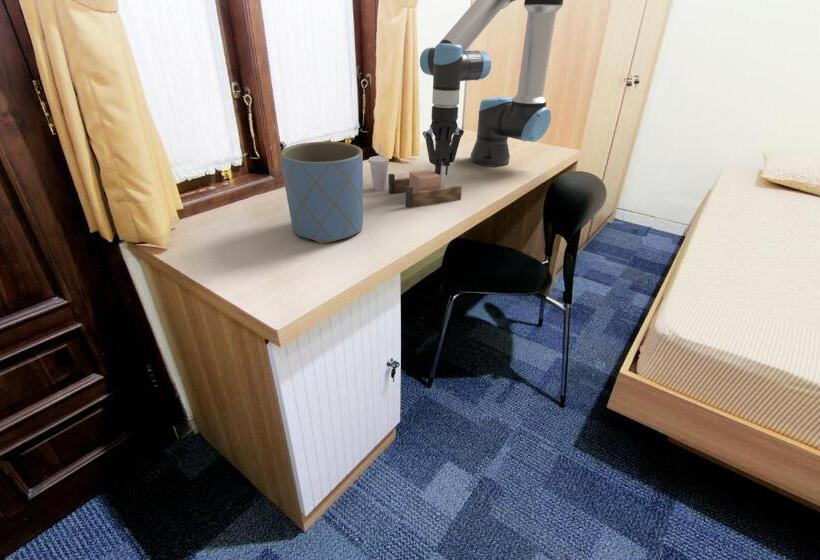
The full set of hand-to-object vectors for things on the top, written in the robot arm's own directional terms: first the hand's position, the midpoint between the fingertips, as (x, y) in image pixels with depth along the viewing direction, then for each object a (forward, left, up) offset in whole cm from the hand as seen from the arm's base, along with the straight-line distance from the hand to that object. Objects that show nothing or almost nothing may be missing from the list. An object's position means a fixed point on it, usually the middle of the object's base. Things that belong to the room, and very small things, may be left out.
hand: (440, 185), depth 135 cm
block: (+6, 0, -3) cm, 6 cm away
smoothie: (+16, -12, -3) cm, 20 cm away
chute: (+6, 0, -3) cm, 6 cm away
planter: (+40, +12, -3) cm, 42 cm away
